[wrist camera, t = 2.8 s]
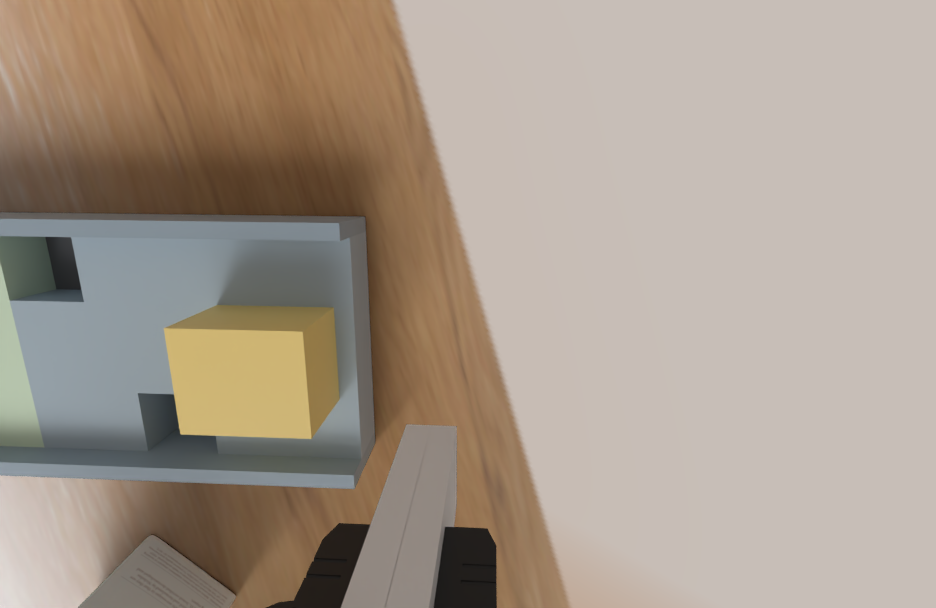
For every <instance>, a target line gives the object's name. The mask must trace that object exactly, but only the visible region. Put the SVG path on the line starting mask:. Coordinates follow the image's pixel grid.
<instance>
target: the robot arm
mask: <svg viewBox="0 0 936 608" xmlns="http://www.w3.org/2000/svg"><path fill="white" fill-rule="evenodd" d="M456 505H457V426H437V425H409V424H406V427H405V430H404V433H403V435H402V438H401V441H400V444H399V447H398V449H397V452H396V455H395V458H394V461H393V463H392V466H391V469H390V472H389V475H388V477H387V480H386V483H385V486H384V488H383V491H382V494H381V497H380V500H379V502H378V505H377V508H376V511H375V514H374V516H373V519H372V522H371V525H365V524H343V523H339V524H338V525H337V526H336V527H335V528H334V529H333V530H332V531H331V532H330V533H329V534H328V535H327V536H326V537H325V538H324V539H323V540H322V542H321V544H320V547H319V549H318V551H317V553H316V555H315V557H314V562H312V563H311V565H310V568H309V570H308V572H307V575H306V578H304V580H303V582H302V584H301V587H300V589H299V591H298V593H297V595H296V597H295V599H294V601H287V602H278V603H276V604H274V605H271V606H269V607H266V608H497V606H496V544H495V542H494V541H493V539H492V537H491V535H490V533H489V531H488V529H484V528H462V527H454V523H455V514H456Z"/></svg>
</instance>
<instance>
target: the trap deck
mask: <svg viewBox="0 0 936 608" xmlns="http://www.w3.org/2000/svg"><path fill="white" fill-rule="evenodd" d="M216 305H243V306H290V307H334V318H335V334H336V350H337V365H338V381H339V397H340V399H339V401H338V402H337V404H336V405H335V407H334V408H333V409H332V411H331V412H330V414H329V415H328V416H327V418H326V419H325V421H324V422H323V423H322V425H321V426H320V428H319V429H318V431H317V432H316V433H315V435H314V436H313V438H312V439H297V438H267V437H238V436H208V435H180V429H179V423H178V416H177V410H176V404H175V397H174V391H173V385H172V378H171V372H170V366H169V359H168V353H167V347H166V340H165V334H164V328H165V327H168V326H170V325H172V324H175V323H177V322H179V321H181V320H184V319H186V318H188V317H191V316H193V315H195V314H197V313H200V312H202V311H204V310H207V309H209V308H211V307H213V306H216ZM374 445H375V424H374V401H373V379H372V356H371V334H370V311H369V289H368V266H367V244H366V221H365V217H362V216H280V215H198V214H116V213H34V212H0V475H5V476H31V477H57V478H83V479H108V480H134V481H160V482H186V483H212V484H238V485H264V486H290V487H315V488H341V489H355V487H356V485H357V482H358V480H359V478H360V476H361V473H362V471H363V469H364V467H365V465H366V462H367V460H368V458H369V456H370V454H371V451H372V449H373V447H374Z"/></svg>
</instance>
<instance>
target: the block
mask: <svg viewBox="0 0 936 608" xmlns="http://www.w3.org/2000/svg"><path fill="white" fill-rule="evenodd" d="M164 334H165V340H166V347H167V353H168V359H169V366H170V372H171V378H172V385H173V391H174V397H175V404H176V410H177V416H178V423H179V429H180V435H208V436H238V437H267V438H297V439H312V438H313V436H314V435H315V433H316V432H317V431H318V429H319V428H320V426H321V425H322V423H323V422H324V421H325V419H326V418H327V416H328V415H329V414H330V412H331V411H332V409H333V408H334V407H335V405H336V404H337V402H338V401H339V399H340V397H339V381H338V365H337V350H336V334H335V318H334V307H290V306H243V305H216V306H213V307H211V308H209V309H207V310H204V311H202V312H200V313H197V314H195V315H193V316H191V317H188V318H186V319H184V320H181V321H179V322H177V323H175V324H172V325H170V326H168V327H165V328H164Z"/></svg>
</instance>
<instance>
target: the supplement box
mask: <svg viewBox="0 0 936 608" xmlns="http://www.w3.org/2000/svg"><path fill="white" fill-rule="evenodd" d="M235 599H236V595H235V594H233V593H232V592H231V591H230V590H228V589H227V588H226V587H224V586H223V585H222V584H220V583H219V582H218V581H216V580H215V579H214V578H212V577H211V576H209V575H208V574H207V573H206V572H204V571H203V570H202V569H200V568H199V567H197V566H196V565H195V564H194V563H192V562H191V561H190V560H188V559H187V558H185V557H184V556H183V555H181V554H180V553H179V552H177V551H176V550H174V549H173V548H172V547H170V546H169V545H168V544H167V543H165V542H164V541H162V540H161V539H159V538H158V537H156V536H154V535H150V536H148V537H147V538H146V539H145V540H144V541H143V542H142V543H141V544H140V545H139V546H138V547H137V548H136V549H135V550H134V551H133V552H132V553H131V554H130V555H129V556H128V557H127V558H126V559H125V560H124V561H123V562H122V563H121V564H120V565H119V566H118V567H117V568H116V569H115V570H114V571H113V572H112V573H111V574H110V575H109V576H108V577H107V578H106V579H105V580H104V581H103V582H102V583H101V584H100V585H99V586H98V588H97V589H96V590H95V591H94V592H93V593H92V594H91V595H90V596H89V597H88V598H87V599H86V600H85V601H84V602H83V603H82V604H81V605H80V606H79V607H78V608H230V606H231V605H232V603H233V602H234V600H235Z"/></svg>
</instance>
